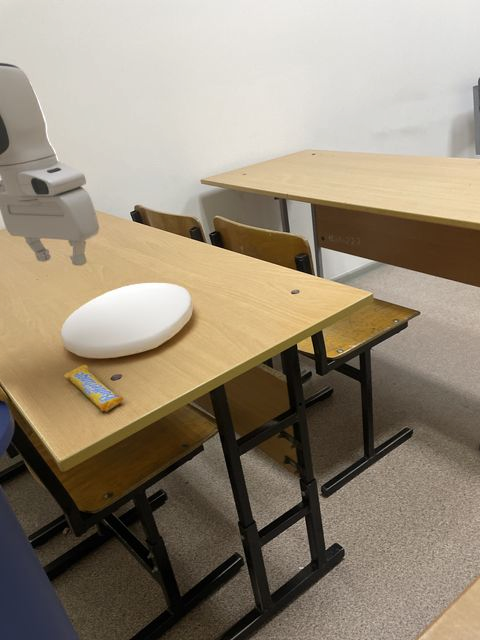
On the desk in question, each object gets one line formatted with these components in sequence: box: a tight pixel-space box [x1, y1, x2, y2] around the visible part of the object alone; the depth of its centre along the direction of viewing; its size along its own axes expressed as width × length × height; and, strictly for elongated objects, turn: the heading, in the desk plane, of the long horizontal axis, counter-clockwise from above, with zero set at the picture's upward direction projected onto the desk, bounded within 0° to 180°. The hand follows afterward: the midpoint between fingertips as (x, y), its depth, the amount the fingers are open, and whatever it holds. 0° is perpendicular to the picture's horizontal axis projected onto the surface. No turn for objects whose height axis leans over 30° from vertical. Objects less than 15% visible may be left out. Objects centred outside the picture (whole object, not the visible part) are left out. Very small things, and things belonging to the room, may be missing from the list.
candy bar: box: [63, 364, 124, 413], centre depth 90 cm, size 17×4×2 cm, turn 39°
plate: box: [60, 282, 194, 359], centre depth 108 cm, size 28×6×27 cm
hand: (62, 262), depth 89 cm, fingers open, 8 cm apart
